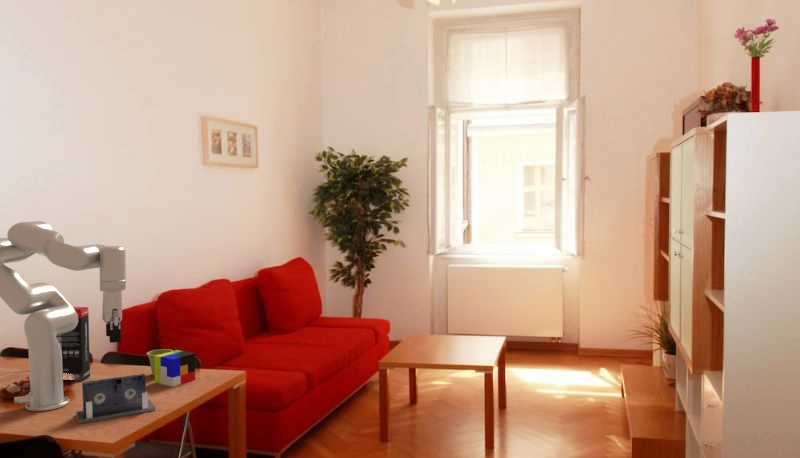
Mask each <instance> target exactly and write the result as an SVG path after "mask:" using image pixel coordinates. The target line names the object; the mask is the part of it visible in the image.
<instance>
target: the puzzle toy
mask: <svg viewBox="0 0 800 458" xmlns="http://www.w3.org/2000/svg"><path fill="white" fill-rule="evenodd" d="M154 360H155V376H154V383H155V384H160V385H164V386H170V387H172V388H173V387H176V386H179V385H183V384H186V383H189V382H193V381H196V354H195V353H194V352H189V351H183V350H178V349H175V350H172V351H171V352H167V353H163V354H160V355H156V356H154Z"/></svg>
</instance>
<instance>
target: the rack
mask: <svg viewBox="0 0 800 458" xmlns="http://www.w3.org/2000/svg"><path fill="white" fill-rule="evenodd" d="M148 398H149V397H148V392H147V391H146V392H141V405H142V406H141V407H135V408H128V409H123V410H116V411H110V412H104V413H98V414H92V400H89V401H86V416H85V415H84V413H83V410H80V411H76V412H75V416H76V419H77V422H78V424H85V423H90V422H96V421H101V420H103V421H104V420H107V419H108V420H109V419H114V418H119V417H126V416H132V415H137V414H143V413H148V412H149V411H150V412H154V411H156V406H155V404H153V402H152V401H151V400H150V399H148Z"/></svg>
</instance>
